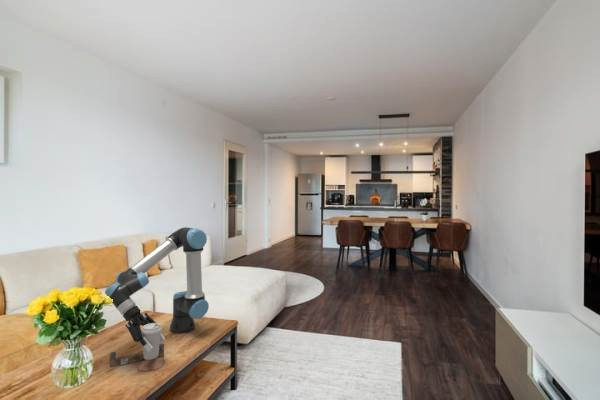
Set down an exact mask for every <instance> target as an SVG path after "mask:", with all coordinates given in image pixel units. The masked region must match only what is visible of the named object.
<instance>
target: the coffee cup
mask: <svg viewBox="0 0 600 400" xmlns="http://www.w3.org/2000/svg"><path fill="white" fill-rule="evenodd" d="M162 331H163V326H162V325H161V323H159V322H156V323H150V324H146V325H144V326H143V327H142V328H141V332H142V336H143V338H144V337H145V338H146V339H147V340H148V342H149V343H150V344H151V346H152V347H153V348H152V349H151V350H150V351H149V352H148V351H147V349H146V348H145V347H144V346H143V345H142V349H143V350H142V353H143V354H144V359H147V360H149V359H154V358H156V357H158V353H159V344H161V342H160V336H161V334H162Z"/></svg>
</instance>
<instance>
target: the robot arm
mask: <svg viewBox="0 0 600 400" xmlns="http://www.w3.org/2000/svg"><path fill="white" fill-rule="evenodd" d="M207 240H208V239H207V234H206V233H205V231H203V230H202V229H199V228H196V227H181V228H178V229H177V230H176V231H173V232H172V233H171V234H169V235H168V236H167V237H165V241H163V242H162V243H161V244H159V245H158V246H157V247H155V248H154V249H152V250H151V251H150V252H149V253H148V254H146V255H145V256H144V257H142V258H141V259H140V260H138V261H137V262H135V264H133V265H132V266H131V267H129V268H128V269H127V270H125V271H120V272H118V273H117V275H116V276H115V282H114V283H112V284H110V285H109V286H108V287H107V288H106V289H105V291H104V294H105V295H106V297H107V296H109V297H110V298H111V299H113V302H111V304H112V305H113V306H114V307H115V308H116V309H117V311H118V312H119V313H120V315H122V318H124V320H125V321H126V322H127V323H126V324H125V325H124V326H125V327H126V329H127V330H128V331H129V334H130V335H131V339H132V340H133V342H134V343H139V344H141V345H142V347H143V346H144V347H145V348H146V349H147V351H148V352H149V351H150V350H151V349H152V348H153V347H152V346H151V344H150V343H149V342H148V340H147V339H146V338H145V337H144V338H143V336H142V332H141V330H142V328H141V326H144V325H146V324H150V323H157V321H155V320H154V319H153V318H152V317H151V316H149V315H150V314H148V313H147V312H145V313H144V314H142V312H141V311H142V310H141V309H140V307H138V305H136V302H135V301H134V300H133V298H132V297H131V296H133V295H134V294H136V293H137V292H138V291H140V290H142V289H143V288H145V287H147V286H148V284H149V282H150V280H149V278H148V276H147V274H146V273H147V272H148V271H149V270H151V269H152V268H153V267H154V266H156V265H157V264H158V263H159V262H161V261H162V260H163V259H164V258H166V257H168V255H169V254H171V253H172V252H174V251H177V250H178V249H179V248H182V252H183V253H184V254H185V260H186V262H185V265H186V267H185V268H186V290H185V291H179V292H176V293H174V294H173V298H172V301H173V303H172V319H171V321H170V325H169V331H170V332H171V333H174V334H183V333H184V334H185V333H188V332H191V331H193V330H195V329H196V321H195V319H196V320H198V319H199V320H200V319H202V318H203V317H205V315H206V314H207V313H208V311H209V302H208V301H207V299H206V298H205V295H206V294H205V292H203V282H202V281H203V280H202V276H203V275H202V253H203V251H204V247H205V245H206V244H207ZM165 340H166V338H165V336H164V335H163V334H162V333H161V336H160V344H162V343H163V342H164V341H165Z"/></svg>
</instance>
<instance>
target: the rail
mask: <svg viewBox="0 0 600 400" xmlns="http://www.w3.org/2000/svg"><path fill="white" fill-rule="evenodd" d="M164 356H165V343H163V342H162V343H160V344H159V353H158V357H156V358H154V359H149V360H147V359H144V354H143V352H140V353H139V352H138V353H133V354H128V355H122V356H117V352H116V351H112V352H110V354H109V357H110V358H109V367H118V366H122V365H127V364H132V363H138V362H139V363H138V365H137V368H138V370H140V371H143V372H151V371H156V370H158V369H160V368H162V367H164V365H165V363H166V360H165V359H164V358H163V357H164Z"/></svg>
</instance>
